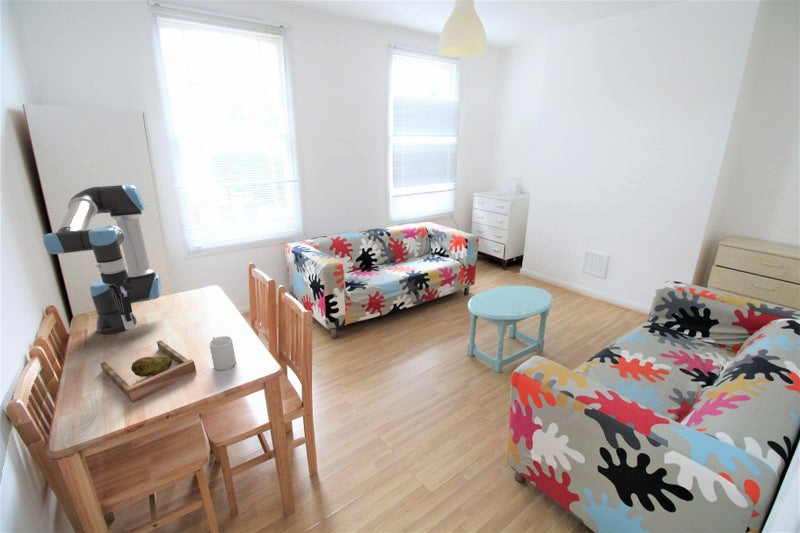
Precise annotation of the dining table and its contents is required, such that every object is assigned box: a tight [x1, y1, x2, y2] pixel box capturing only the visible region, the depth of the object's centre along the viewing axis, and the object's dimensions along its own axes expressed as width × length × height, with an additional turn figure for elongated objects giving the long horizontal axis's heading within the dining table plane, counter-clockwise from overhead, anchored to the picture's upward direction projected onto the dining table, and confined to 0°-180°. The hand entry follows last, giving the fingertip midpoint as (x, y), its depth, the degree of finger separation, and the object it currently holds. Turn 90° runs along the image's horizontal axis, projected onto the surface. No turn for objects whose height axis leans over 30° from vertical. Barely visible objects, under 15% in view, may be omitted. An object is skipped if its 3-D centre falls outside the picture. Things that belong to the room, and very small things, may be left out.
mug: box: [208, 335, 237, 371], centre depth 144 cm, size 12×8×10 cm, turn 43°
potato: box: [130, 355, 173, 378], centre depth 138 cm, size 8×13×8 cm, turn 132°
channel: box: [100, 339, 197, 403], centre depth 140 cm, size 30×21×5 cm
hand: (130, 327), depth 141 cm, fingers closed
